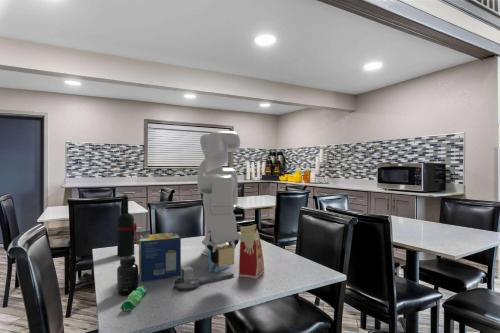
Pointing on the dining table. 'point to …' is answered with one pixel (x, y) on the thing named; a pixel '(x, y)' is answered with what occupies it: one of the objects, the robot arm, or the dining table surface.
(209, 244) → the chair
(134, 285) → the supplement bottle
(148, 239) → the protein box
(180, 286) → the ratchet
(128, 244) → the wine bottle
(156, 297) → the dining table surface
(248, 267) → the milk carton
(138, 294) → the candy
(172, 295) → the dining table surface
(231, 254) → the brown parcel carton
